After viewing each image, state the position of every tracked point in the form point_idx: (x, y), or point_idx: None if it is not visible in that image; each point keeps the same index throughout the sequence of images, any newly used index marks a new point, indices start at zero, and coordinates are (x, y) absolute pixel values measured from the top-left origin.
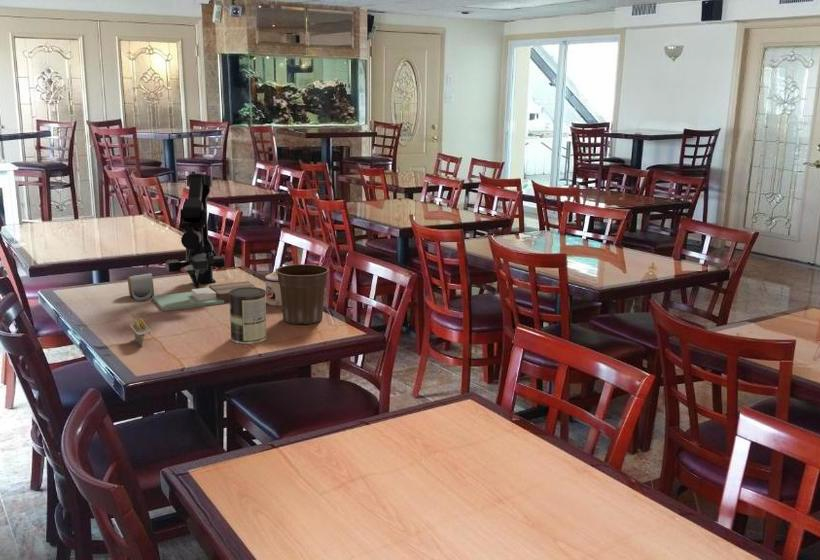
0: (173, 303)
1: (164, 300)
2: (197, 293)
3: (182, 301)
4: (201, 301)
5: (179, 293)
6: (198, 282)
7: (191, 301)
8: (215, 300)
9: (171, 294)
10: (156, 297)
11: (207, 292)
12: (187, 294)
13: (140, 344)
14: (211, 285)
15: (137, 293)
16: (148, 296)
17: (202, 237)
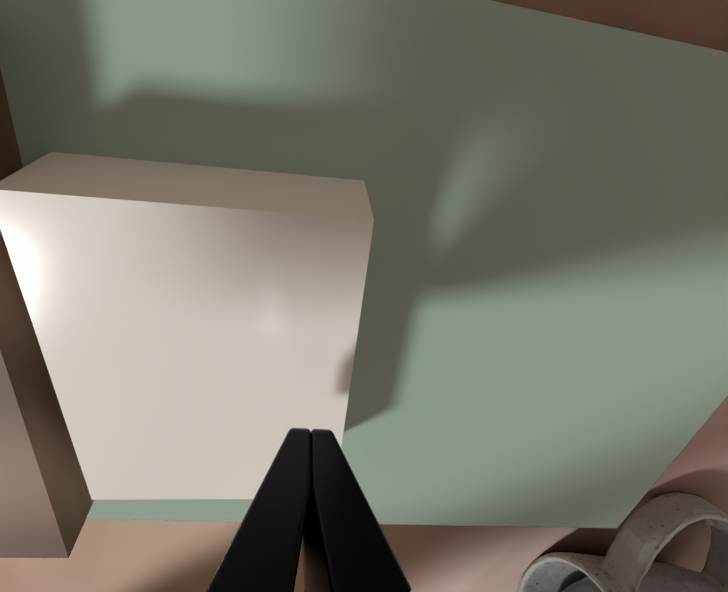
0: (697, 238)
1: (658, 390)
2: (344, 314)
3: (556, 265)
4: (345, 112)
5: (403, 515)
6: (281, 525)
7: (468, 202)
8: (85, 21)
9: (475, 514)
10: (629, 488)
11: (164, 289)
12: (356, 469)
13: None
14: (38, 547)
15: (692, 578)
16: (667, 519)
17: None
